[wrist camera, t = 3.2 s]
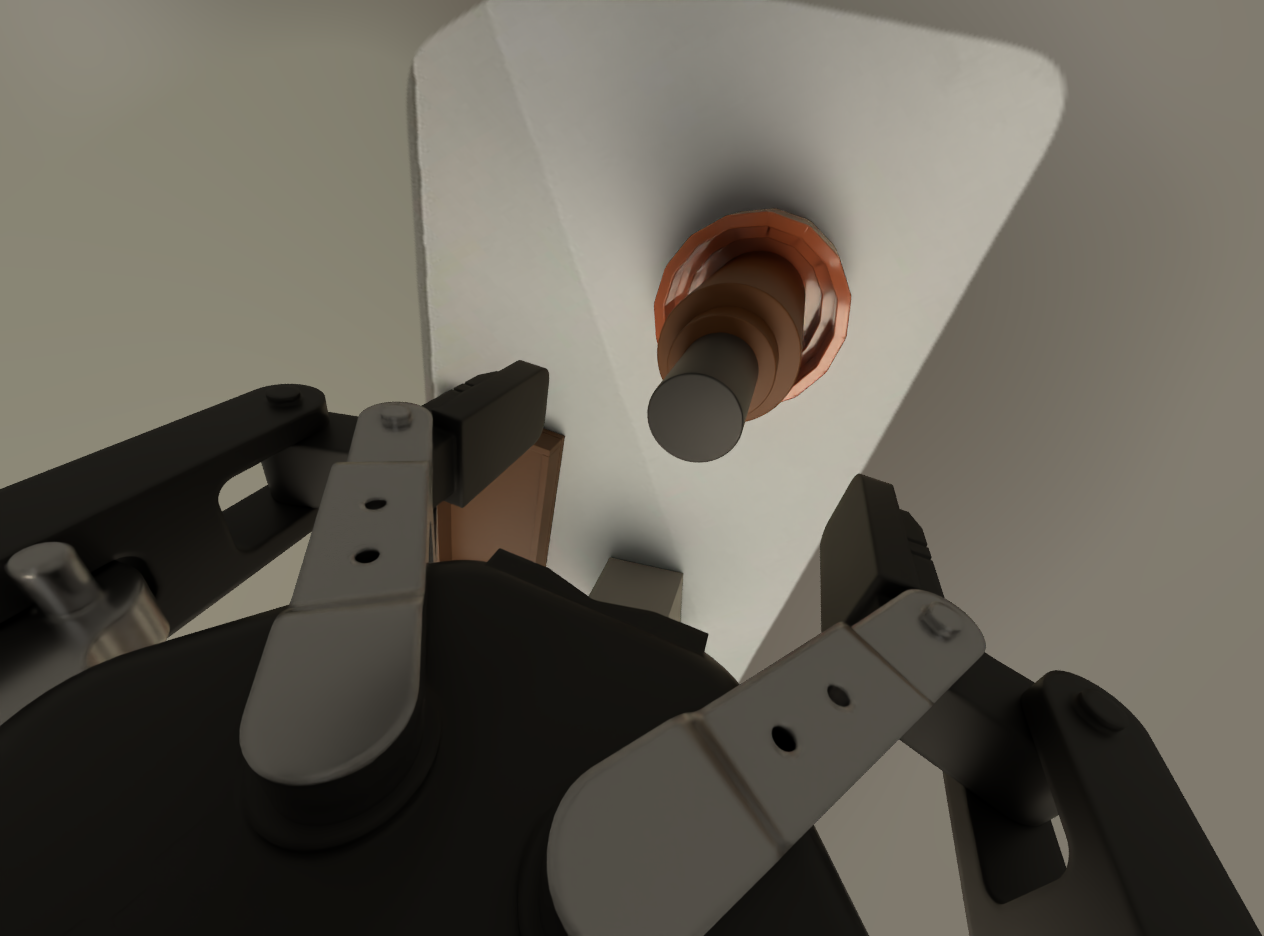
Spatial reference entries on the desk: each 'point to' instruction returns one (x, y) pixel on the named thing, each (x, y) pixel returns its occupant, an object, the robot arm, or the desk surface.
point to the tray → (507, 510)
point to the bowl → (793, 243)
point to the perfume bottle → (640, 587)
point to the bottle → (727, 355)
